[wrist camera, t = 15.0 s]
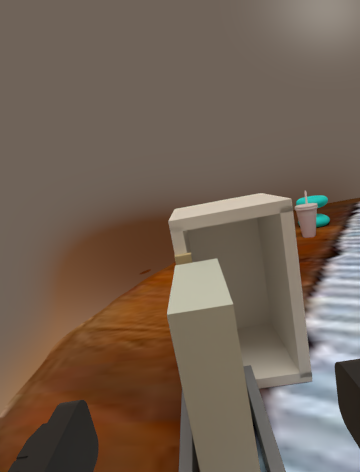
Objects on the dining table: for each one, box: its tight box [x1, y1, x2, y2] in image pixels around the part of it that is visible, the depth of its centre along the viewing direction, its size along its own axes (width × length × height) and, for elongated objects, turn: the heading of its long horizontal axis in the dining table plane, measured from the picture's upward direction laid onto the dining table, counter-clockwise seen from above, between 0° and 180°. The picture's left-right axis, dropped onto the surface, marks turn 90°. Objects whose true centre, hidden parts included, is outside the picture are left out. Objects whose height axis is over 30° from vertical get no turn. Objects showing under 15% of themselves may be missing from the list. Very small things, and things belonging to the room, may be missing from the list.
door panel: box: [167, 258, 261, 472], centre depth 23 cm, size 4×10×16 cm, turn 178°
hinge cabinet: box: [169, 193, 312, 472], centre depth 29 cm, size 14×24×20 cm, turn 178°
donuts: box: [296, 196, 330, 227], centre depth 99 cm, size 10×10×10 cm
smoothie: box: [295, 191, 318, 237], centre depth 87 cm, size 6×6×14 cm
